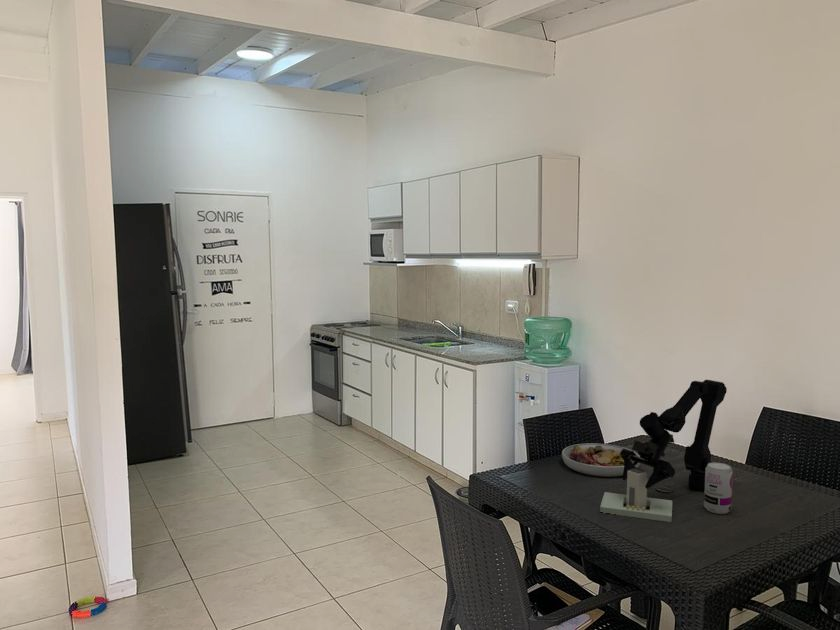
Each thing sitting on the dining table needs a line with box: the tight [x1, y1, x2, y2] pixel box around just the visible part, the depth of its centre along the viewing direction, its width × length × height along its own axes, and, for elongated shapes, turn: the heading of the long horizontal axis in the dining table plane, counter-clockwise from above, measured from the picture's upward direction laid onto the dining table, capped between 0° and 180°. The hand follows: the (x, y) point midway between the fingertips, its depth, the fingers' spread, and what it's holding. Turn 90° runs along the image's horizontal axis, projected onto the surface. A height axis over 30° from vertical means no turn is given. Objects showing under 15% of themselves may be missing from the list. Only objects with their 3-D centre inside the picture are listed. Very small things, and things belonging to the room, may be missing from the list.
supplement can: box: [703, 462, 734, 515], centre depth 223 cm, size 8×8×15 cm
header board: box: [599, 491, 673, 523], centre depth 225 cm, size 22×14×3 cm, turn 69°
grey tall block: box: [625, 467, 648, 510], centre depth 224 cm, size 5×4×14 cm
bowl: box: [561, 442, 641, 478], centre depth 268 cm, size 30×30×8 cm
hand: (634, 483), depth 223 cm, fingers open, 9 cm apart
